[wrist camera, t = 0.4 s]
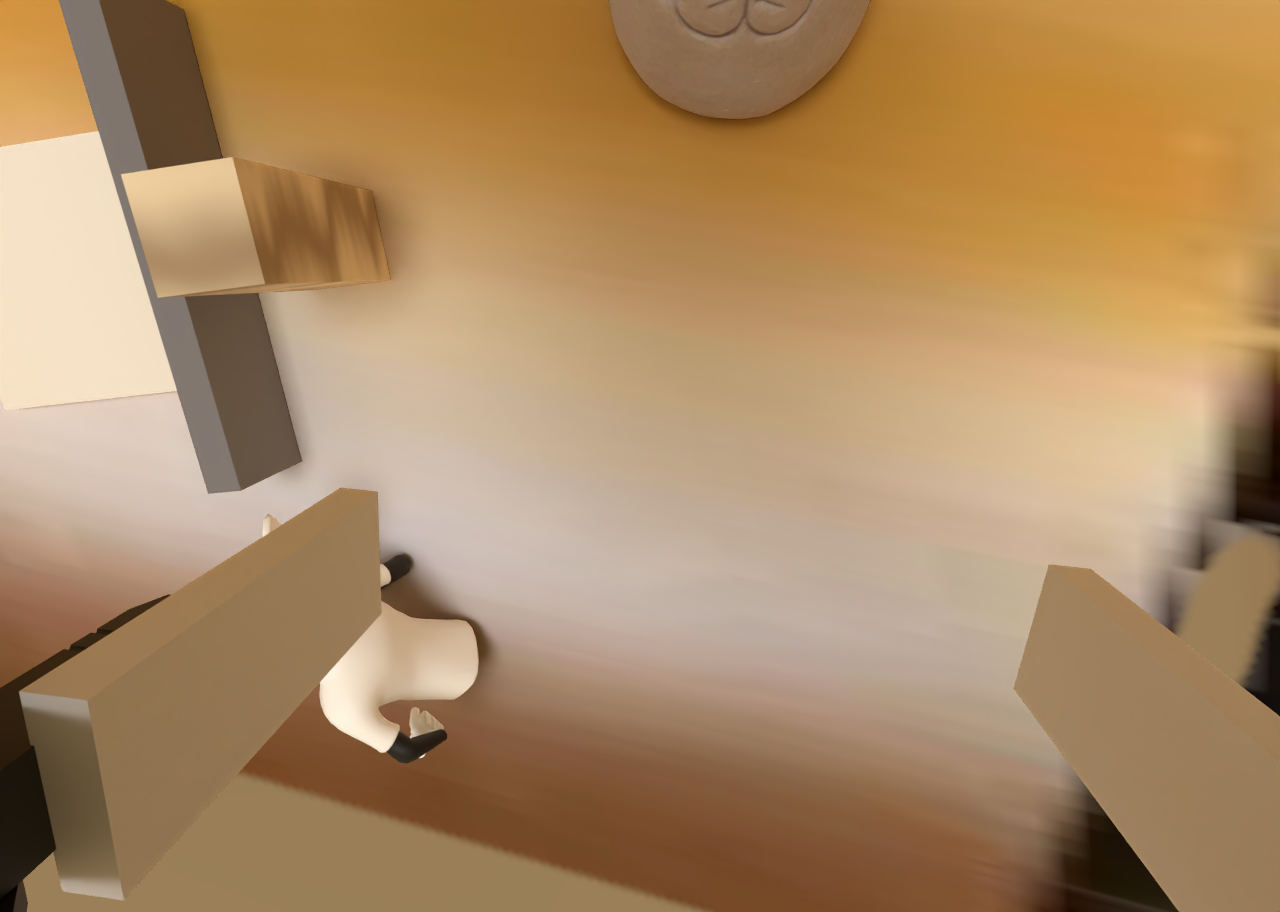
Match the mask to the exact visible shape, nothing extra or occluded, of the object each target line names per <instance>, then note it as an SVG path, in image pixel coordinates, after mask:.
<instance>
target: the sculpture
mask: <svg viewBox="0 0 1280 912" xmlns="http://www.w3.org/2000/svg"><path fill="white" fill-rule="evenodd" d="M609 3H610V9H611V16H612V20H613V24H614V28H615V32H616V35H617V37H618V39H619V42H620V44H621V47H622V48H623V50H624V52H625V54H626V56H627V57H628V59H629V61H630V62H631V64H632V66H633V68H634V69H635V71H636V72H637V73H638V75H639V76H640V77H641V79H642V80H643V81H644V82H645V83H646V85H647V86H648V87H649V88H651V89H652V90H653V91H654V92H655V93H656V94H657V95H658V96H659V97H661V98H662V99H664V100H666V101H668V102H669V103H671V104H673V105H676V106H678V107H680V108H682V109H685V110H687V111H690V112H692V113H694V114H698V115H701V116H708V117H714V118H724V119H747V118H754V117H760V116H766V115H768V114H770V113H772V112H774V111H776V110H779V109H780V108H782V107H784V106H786V105H788V104H789V103H791V102H793V101H794V100H796V99H797V98H799V97H800V96H802V95H803V94H804V93H806V92H807V91H808V90H810V89H811V88H812V87H813V86H814V85H815V84H816V83H817V82H818V81H820V80H821V79H822V78H823V77H824V76H825V75H826V74H827V73H828V72H829V71H830V70H831V69H832V68H833V66H834V65H835V64H836V63H837V62H838V61H839V59H840V58H841V56H842V55H843V53H844V52H845V50H846V49H847V47H848V46H849V44H850V42H851V40H852V39H853V37H854V36H855V34H856V32H857V30H858V28H859V26H860V25H861V23H862V20H863V18H864V16H865V13H866V11H867V8H868V5H869V3H870V0H609Z"/></svg>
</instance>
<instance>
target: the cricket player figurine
mask: <svg viewBox="0 0 1280 912" xmlns="http://www.w3.org/2000/svg"><path fill="white" fill-rule="evenodd" d="M280 526H281V524H280V523H279V522H278V520H277V519H276V518H274V517H273V516H271V515H269V514H268V515H267V516H266V517H265V518H264V520H263V528H262V537H264V536H265V535H267V534H269V533H270V532H272V531H273V530H275V529H276V528H278V527H280ZM409 570H410V562H409V560H408V559H407V558H406V557H405V556H402V555H398V556H396V557H394V558H393V559H391V560H389V561H388V562H386V563H384V564H380V581H381V590H382V589H384V588H385V587H387V586H388V585H390V584H391V583H393V582H395V581H396V580H398V579H399V578H401V577H403V576H404V575H406V574H407V573H408V572H409ZM381 611H382V614H381V615H380V616H379V617H378V618H377V619H376V620H375V621H374V623H373V624H372V625H371V626H370V627H369V628H368V629H367V630H366V631H365V633H364V634H363V635H362V636H361V637H360V638H359V639H358V640H357V641H356V643H355V644H354V645H353V646H352V647H351V648H350V649H349V650H348V651H347V653H346V654H345V655H344V656H343V657H342V658H341V659H340V660H339V662H338V663H337V664H336V665H335V666H334V667H333V668H332V669H331V670H330V672H329V673H328V674H327V675H326V676H325V677H324V678H323V679H322V680H321V682H320V701H321V706H322V709H323V712H324V714H325V716H326V717H327V718H328V720H329V721H330V722H331V723H332V724H333V725H334V726H335V727H337V728H338V729H339V730H341V731H342V732H344V733H346V734H348V735H350V736H352V737H354V738H356V739H358V740H360V741H362V742H364V743H366V744H368V745H370V746H372V747H373V748H375V749H376V750H378V751H379V752H387V753H388V754H389V755H390V756H392V757H393V758H394V759H396V760H397V761H399V762H401V763H409V762H411V761H414V760H416V759H418V758H422V757H424V756H425V754H426V753H427V752H428V751H430V750H431V749H433V748H434V747H436V746H437V745H439V744H440V743H441V742H443V741H444V740H446V739H447V734H446V732H445V731H444V727H443V725H442V724H441V723H439V722H438V721H437V720H436V719H435V718H434V717H433V716H432V715H430V713H429V712H428V711H423V712H422V713H421V714H420V715H419V711H420V710H419V708H417V707H413V708H412V709H411V714H410V728H411V736H410V738H409V737H407V736H406V735H405V734H403V733H401V732H400V731H399V725H398V724H394V723H392V722H390V721H388V720H387V719H385V718H384V717H383V716H382V715H381V713H380V712H379V710H378V707H380V706H382V705H384V704H387V703H390V702H393V701H396V700H400V699H401V700H427V699H444V700H453V699H455V698H457V697H459V696H460V695H462V694H463V693H464V692H466V691H467V690H468V689H469V688H470V687H471V685H472V684H473V683H474V681H475V679H476V676H477V674H478V664H479V659H478V648H477V642H476V637H475V634H474V631H473V629H472V627H471V626H470V625H469V624H468V623H467V621H462V620H458V619H455V620H440V619H419V618H413V617H409V616H407V615H405V614H404V613H401V612H399V611H397V610H395V609H393V608H392V607H391V606H389V605H388V604H386V603H384V602H382V601H381Z"/></svg>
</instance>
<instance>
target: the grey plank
mask: <svg viewBox="0 0 1280 912" xmlns="http://www.w3.org/2000/svg"><path fill="white" fill-rule="evenodd" d="M59 2H60V6H61V9H62V12H63V16H64V19H65V22H66V26H67V29H68V32H69V35H70V39H71V42H72V45H73V49H74V52H75V55H76V59H77V62H78V65H79V68H80V72H81V75H82V78H83V82H84V85H85V88H86V92H87V95H88V98H89V101H90V105H91V108H92V111H93V115H94V118H95V121H96V125H97V128H98V131H99V134H100V138H101V141H102V144H103V148H104V151H105V154H106V158H107V161H108V164H109V167H110V171H111V174H112V177H113V181H114V184H115V187H116V191H117V194H118V197H119V200H120V204H121V207H122V210H123V214H124V217H125V220H126V224H127V227H128V230H129V233H130V237H131V240H132V243H133V247H134V250H135V253H136V257H137V260H138V263H139V267H140V270H141V273H142V276H143V280H144V283H145V286H146V290H147V293H148V296H149V300H150V303H151V306H152V309H153V313H154V316H155V319H156V323H157V326H158V329H159V333H160V336H161V339H162V342H163V346H164V349H165V352H166V356H167V359H168V362H169V366H170V369H171V372H172V375H173V379H174V382H175V385H176V389H177V392H178V395H179V399H180V402H181V405H182V408H183V412H184V415H185V418H186V422H187V425H188V428H189V432H190V435H191V438H192V441H193V445H194V448H195V451H196V455H197V458H198V461H199V465H200V468H201V471H202V474H203V478H204V481H205V484H206V488H207V491H208V494H210V493H220V492H231V491H241V490H243V489H245V488H247V487H249V486H251V485H253V484H255V483H258V482H260V481H262V480H264V479H266V478H268V477H270V476H272V475H274V474H276V473H278V472H280V471H282V470H284V469H287V468H289V467H291V466H293V465H295V464H297V463H299V462H301V457H300V454H299V450H298V446H297V442H296V438H295V434H294V431H293V427H292V423H291V419H290V415H289V411H288V408H287V404H286V400H285V396H284V392H283V389H282V385H281V381H280V377H279V373H278V369H277V366H276V362H275V358H274V354H273V350H272V346H271V343H270V339H269V335H268V331H267V327H266V323H265V320H264V316H263V312H262V308H261V304H260V300H259V297H258V293H243V294H224V295H204V296H185V297H165V298H158V297H157V293H156V290H155V287H154V283H153V280H152V277H151V273H150V270H149V267H148V263H147V260H146V257H145V253H144V250H143V247H142V243H141V240H140V237H139V233H138V230H137V227H136V223H135V220H134V217H133V213H132V210H131V207H130V203H129V200H128V197H127V193H126V190H125V187H124V183H123V180H122V177H121V174H126V173H133V172H139V171H145V170H152V169H158V168H165V167H171V166H178V165H184V164H191V163H197V162H204V161H210V160H217V159H222V155H221V151H220V147H219V143H218V140H217V136H216V132H215V128H214V124H213V120H212V117H211V113H210V109H209V105H208V101H207V97H206V94H205V90H204V86H203V82H202V78H201V74H200V71H199V67H198V63H197V59H196V55H195V52H194V48H193V44H192V40H191V36H190V32H189V29H188V25H187V21H186V17H185V13H184V10H183V9H181V8H179V7H177V6H175V5H173V4H171V3H169V2H167V1H165V0H59Z"/></svg>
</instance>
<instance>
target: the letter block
mask: <svg viewBox="0 0 1280 912" xmlns="http://www.w3.org/2000/svg"><path fill="white" fill-rule="evenodd" d="M121 177H122V180H123V183H124V187H125V190H126V193H127V197H128V200H129V203H130V207H131V210H132V213H133V217H134V220H135V223H136V227H137V230H138V233H139V237H140V240H141V243H142V247H143V250H144V253H145V257H146V260H147V263H148V267H149V270H150V273H151V277H152V280H153V283H154V287H155V290H156V293H157V297H158V298H165V297H185V296H204V295H224V294H243V293H263V292H283V291H302V290H316V289H324V288H332V287H339V286H347V285H355V284H363V283H371V282H378V281H386V280H391V279H390V275H389V270H388V265H387V260H386V255H385V251H384V246H383V241H382V236H381V232H380V227H379V222H378V217H377V212H376V208H375V203H374V198H373V193H372V191H370V190H366V189H362V188H357V187H353V186H349V185H345V184H341V183H337V182H333V181H329V180H325V179H320V178H316V177H312V176H308V175H304V174H300V173H296V172H292V171H288V170H283V169H279V168H275V167H271V166H267V165H263V164H259V163H255V162H251V161H246V160H242V159H238V158H234V157H229V158H223V159H217V160H210V161H204V162H197V163H191V164H184V165H178V166H171V167H165V168H158V169H152V170H145V171H139V172H133V173H126V174H121Z"/></svg>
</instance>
